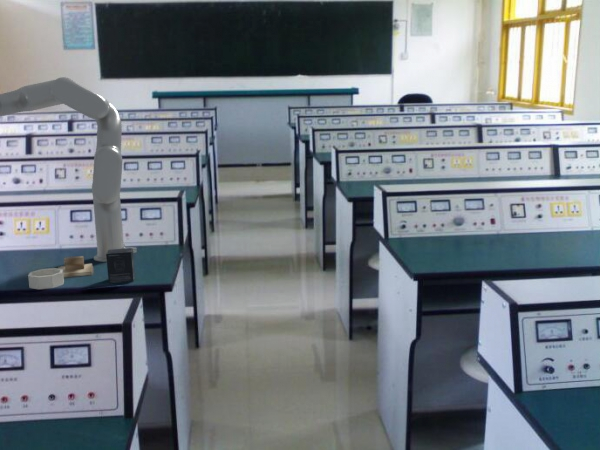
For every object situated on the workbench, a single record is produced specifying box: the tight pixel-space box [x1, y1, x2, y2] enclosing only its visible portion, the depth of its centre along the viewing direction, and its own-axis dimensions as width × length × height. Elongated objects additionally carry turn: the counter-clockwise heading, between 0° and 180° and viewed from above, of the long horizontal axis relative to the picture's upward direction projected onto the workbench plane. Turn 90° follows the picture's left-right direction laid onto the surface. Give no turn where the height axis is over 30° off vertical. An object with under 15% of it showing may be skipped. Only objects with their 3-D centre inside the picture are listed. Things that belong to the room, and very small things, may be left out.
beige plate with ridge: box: [57, 255, 93, 278], centre depth 210 cm, size 11×11×5 cm
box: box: [106, 248, 136, 284], centre depth 200 cm, size 8×6×11 cm
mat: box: [64, 265, 95, 279], centre depth 211 cm, size 12×12×1 cm
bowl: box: [27, 267, 65, 290], centre depth 197 cm, size 10×10×4 cm
